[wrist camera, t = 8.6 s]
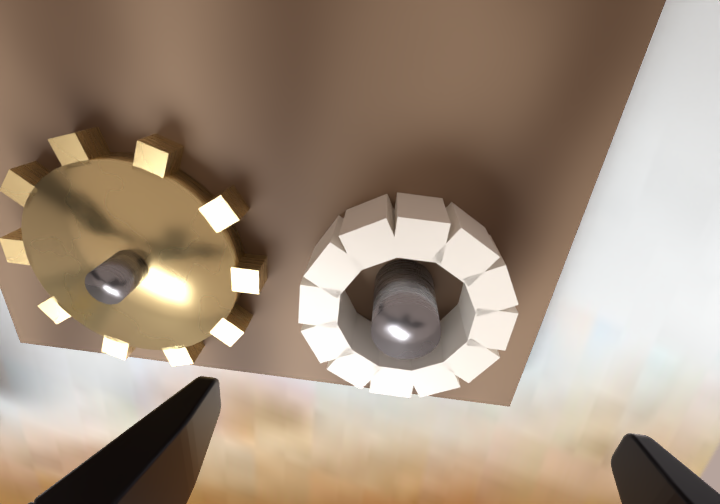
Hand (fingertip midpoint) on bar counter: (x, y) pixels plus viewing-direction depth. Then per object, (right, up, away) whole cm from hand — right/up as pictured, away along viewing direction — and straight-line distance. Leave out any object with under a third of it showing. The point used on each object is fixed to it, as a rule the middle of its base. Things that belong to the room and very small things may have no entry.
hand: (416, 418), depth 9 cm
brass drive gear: (-9, +4, +5) cm, 11 cm away
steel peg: (0, +3, +5) cm, 6 cm away
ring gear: (0, +3, +5) cm, 6 cm away
